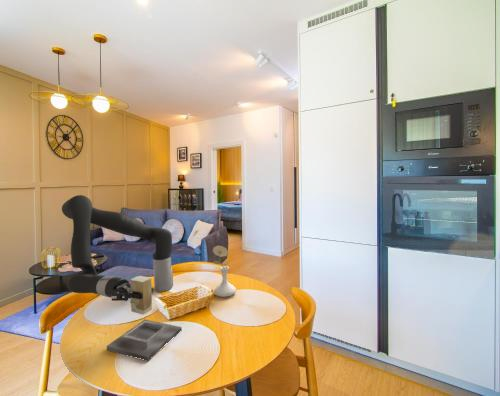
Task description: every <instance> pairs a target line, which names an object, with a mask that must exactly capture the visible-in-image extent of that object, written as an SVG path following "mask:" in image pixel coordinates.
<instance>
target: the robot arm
mask: <svg viewBox="0 0 500 396" xmlns="http://www.w3.org/2000/svg"><path fill="white" fill-rule="evenodd" d="M61 212H62V214H63V215H64V216H65V217H66V218H68V219H70V220H72V225H73V230H72V231H73V232H72V238H71V243H70V259H71V261H70V262H71V266H72V268H74V269H81V271H82V272H81V273H76V274H73V275H71V276H70V277H69V279H68V280H67V281H66V282H67V283H66V284H67V285H66V286H67V288H68V290H69V291H70V292H72V293H75V294H94V295H100V296H103V297H106V298H111V299H110V300H111V301H117V302H119V301H120V302H127V301H129V300H131V299H133V298H135V299H142V298H143V293H141V292H136V291H134V292H133V291H132V290H131V282H130V281H129V280H128V279H126V278H125V277H117V276H111V275H110V276H108V275H107V276H106V275H101V274H100V275H98V273H97V270H96V268H95V265H94V263H93V259H92V248H91V245H92V244H91V224H92V225H95V226H97V227H100V228H102V229H103V228H104V229H107V230H109V231H112V232H114V233H118V234H121V235H123V236H124V235H126V236H129V237H135V238H139V239H143V240H145V241H148V242H149V243H152V244H153V245H155V252H153V253H152V262H153V263H152V264H153V267H152V268H153V284H154V288H153V287H152V294H153V292H154V291H155V292H158V293H160V292H161V293H162V292H166V291H170V290H171V289H172V288H173V287H174V274H173V269H172V255H171V254H172V252H173V236H172V233H171V231H170V230H168V229H166V228H161V227H155V226H152V225H148V224H145V223H143V222H142V221H140V220H139V219H137V218H134V217H132V216H130V215H128V214H125V213H122V212H117V211H111V210H102V209H99V208H96V207H93V203H92V201H91V199H90V198H89V197H87V196H85V195H82V194H78V195H75V196H73V197H71V198H69V199H67V200H66V201H65V202H64V203H63V204H62V206H61Z"/></svg>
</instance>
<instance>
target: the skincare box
mask: <svg viewBox="0 0 500 396" xmlns="http://www.w3.org/2000/svg"><path fill="white" fill-rule="evenodd" d="M129 282H130V283H131V290H132V291H133V292H134V291H136V292H141V293H143V298H142V299H135V298H133V299H130V310H131V312H132V313H136V314H139V315H145V314H147V313H148V312H149V313H150V311H152V310H153V297H152V294H153V293H152V288H153V287H152V286H153V285H152V277H149V276H141V275H137V276H135V277H133V278H131V279H130V280H129Z"/></svg>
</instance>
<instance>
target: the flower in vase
mask: <svg viewBox="0 0 500 396" xmlns="http://www.w3.org/2000/svg"><path fill="white" fill-rule="evenodd" d="M212 252H213V254H214V255H215V256H217V257H218V260H214V261H213V262H212V264H216V265H220V267H219V270H220V271H221V274H222V280H221V282H220V283H219V285H217V286H216V287H215V288H214V291H213V292H214V293H213V294H215V295H216V296H217V297H223V298H224V297H230V296H234V294H236V292H237V289H236V286H234V285H233V284H231V283H230V282H229V281H228V271H229V269H230V267H229V266H228V265H227V264H229V262H230V261H229V260H228V261H225V262H223V264H222V262H221V258H223V257H228V254H229V251H228V248H226V247H225V246H223V245H216V246H214V247H213V249H212Z"/></svg>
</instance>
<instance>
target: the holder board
mask: <svg viewBox="0 0 500 396" xmlns="http://www.w3.org/2000/svg"><path fill="white" fill-rule="evenodd" d="M182 328H183V327H182V326H179V325H174V324H168V323H163V322H158V321H155V320H150V319H144V320H142V321H141V322H139V323H137V324H136V325H135V326H133V327H132V328H131V329H128V330H127V331H126V332H125V333H123V334H122V335H120V336H119V337H118V338H116V339H115V340H113V341H112V342H110V343H109V344H107V345H106V351H110V352H113V353H115V354H116V353H117V354H120V355H124V356H127V355H128V356H127V357H130V356H132V357H131V358H134V357H137V358H141V359H144V360H143V361H145V360H147V361H146V362H150V361H151V360H152V358H151V357H153V356H154V355H155V354H156V353H157V352H158V351H159V350H160V349H161V348H162V347H163V346H164V345H165V344H166V343H168V342H169V341H170V340H171V339H172V338H173V337H174V338H175V337H176V336H177V334H178V333H179V332H180V331H181V332H182ZM181 332H180V333H181ZM180 333H179V334H180ZM179 334H178V335H179ZM174 338H173V339H174ZM173 339H172V340H173ZM172 340H171V341H172ZM171 341H170V342H171ZM170 342H169V343H170ZM169 343H168V344H169ZM164 347H165V346H164ZM164 347H163V348H164ZM163 348H162V349H163ZM162 349H161V350H162ZM161 350H160V351H161ZM160 351H159V352H160ZM159 352H158V353H159ZM158 353H157V354H158ZM157 354H156V355H157ZM156 355H155V356H156ZM155 356H154V357H155ZM137 358H136V359H137ZM141 359H140V360H141Z"/></svg>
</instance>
